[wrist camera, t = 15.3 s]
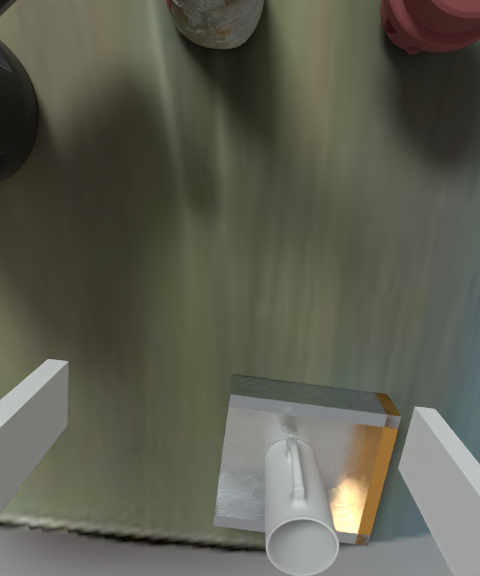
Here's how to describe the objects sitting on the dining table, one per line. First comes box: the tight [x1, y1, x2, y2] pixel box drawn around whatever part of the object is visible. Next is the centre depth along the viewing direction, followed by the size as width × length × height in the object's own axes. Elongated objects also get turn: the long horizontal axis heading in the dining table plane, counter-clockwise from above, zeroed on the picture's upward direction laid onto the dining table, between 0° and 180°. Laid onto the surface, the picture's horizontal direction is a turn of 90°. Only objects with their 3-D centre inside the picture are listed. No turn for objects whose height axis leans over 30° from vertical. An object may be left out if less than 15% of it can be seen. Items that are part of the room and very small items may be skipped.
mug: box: [265, 437, 339, 576], centre depth 42 cm, size 10×7×12 cm, turn 3°
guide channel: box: [213, 375, 401, 546], centre depth 46 cm, size 18×17×4 cm
